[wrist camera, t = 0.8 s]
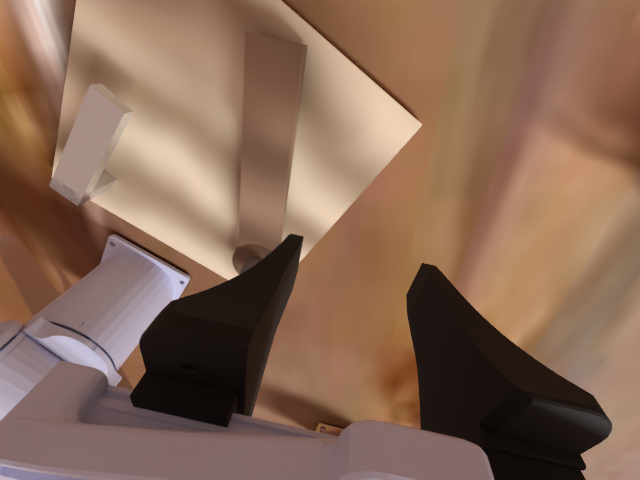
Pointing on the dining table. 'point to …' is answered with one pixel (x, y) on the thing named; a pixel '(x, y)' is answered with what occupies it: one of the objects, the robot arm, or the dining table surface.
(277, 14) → the base board
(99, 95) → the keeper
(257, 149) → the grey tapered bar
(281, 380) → the dining table surface
